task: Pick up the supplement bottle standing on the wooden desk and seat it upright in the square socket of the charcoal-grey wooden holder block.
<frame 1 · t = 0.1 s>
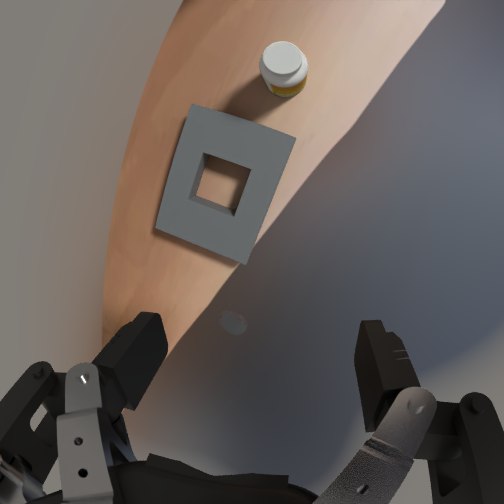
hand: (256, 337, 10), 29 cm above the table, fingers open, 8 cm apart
socket holder: (224, 181, 38), on the table
supplement bottle: (285, 79, 32), on the table
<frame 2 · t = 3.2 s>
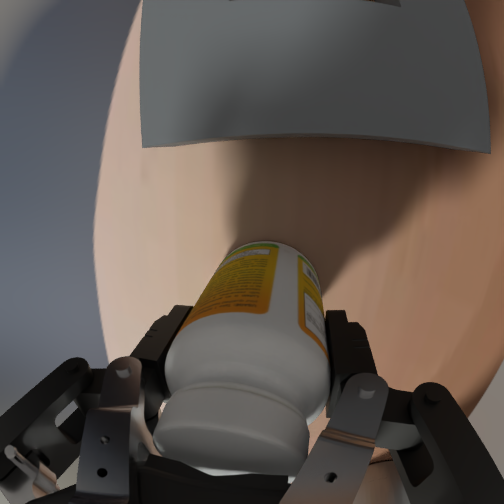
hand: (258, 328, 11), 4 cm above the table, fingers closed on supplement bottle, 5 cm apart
supplement bottle: (267, 286, 15), on the table, touching gripper
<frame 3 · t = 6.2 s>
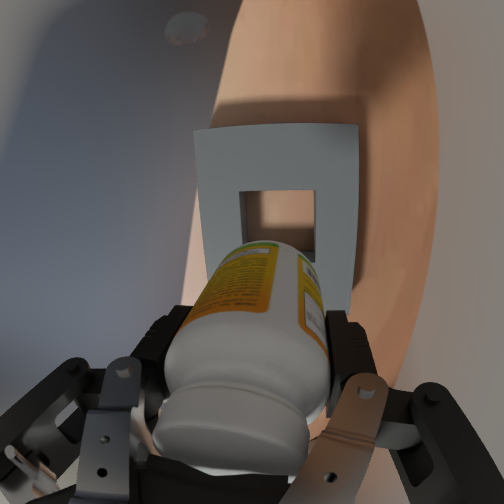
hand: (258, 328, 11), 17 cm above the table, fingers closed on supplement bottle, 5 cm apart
socket holder: (280, 219, 27), on the table
supplement bottle: (267, 285, 14), point 14 cm above the table, touching gripper
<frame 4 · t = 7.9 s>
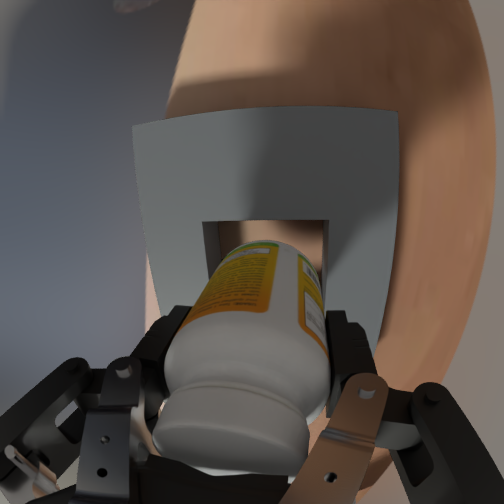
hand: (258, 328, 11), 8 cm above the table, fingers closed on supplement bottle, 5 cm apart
socket holder: (271, 258, 18), on the table
supplement bottle: (267, 285, 14), point 4 cm above the table, touching gripper
when the fingers open (5 cm above the table, at t = 9.4 s): supplement bottle drops 1 cm, resting in socket holder.
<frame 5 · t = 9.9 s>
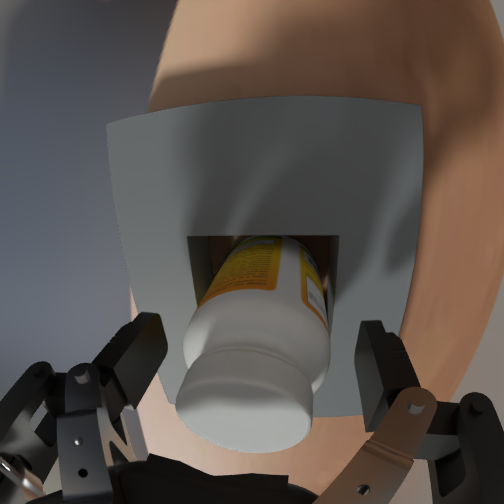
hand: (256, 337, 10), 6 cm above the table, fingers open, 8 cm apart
socket holder: (269, 275, 16), on the table
supplement bottle: (271, 275, 16), resting in socket holder
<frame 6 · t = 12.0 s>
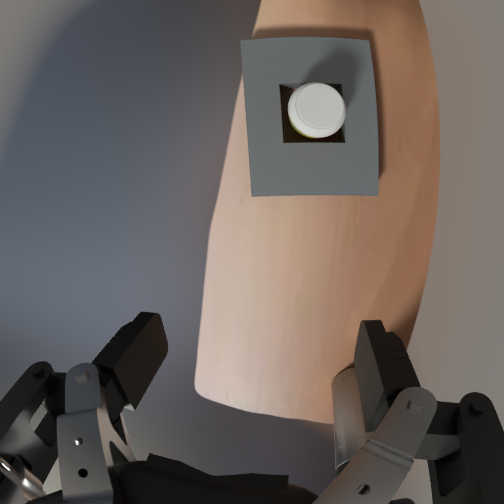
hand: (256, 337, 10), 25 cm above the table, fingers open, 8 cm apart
socket holder: (311, 114, 28), on the table
supplement bottle: (312, 115, 29), resting in socket holder
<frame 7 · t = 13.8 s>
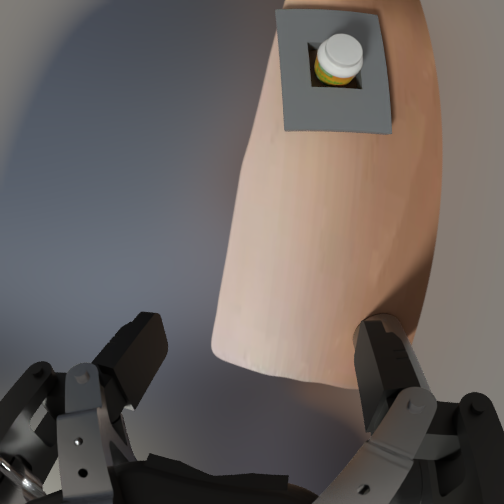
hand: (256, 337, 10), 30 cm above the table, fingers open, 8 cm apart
socket holder: (332, 70, 31), on the table
supplement bottle: (332, 71, 31), resting in socket holder
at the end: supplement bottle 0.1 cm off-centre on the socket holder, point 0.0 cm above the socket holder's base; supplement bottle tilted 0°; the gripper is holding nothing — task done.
